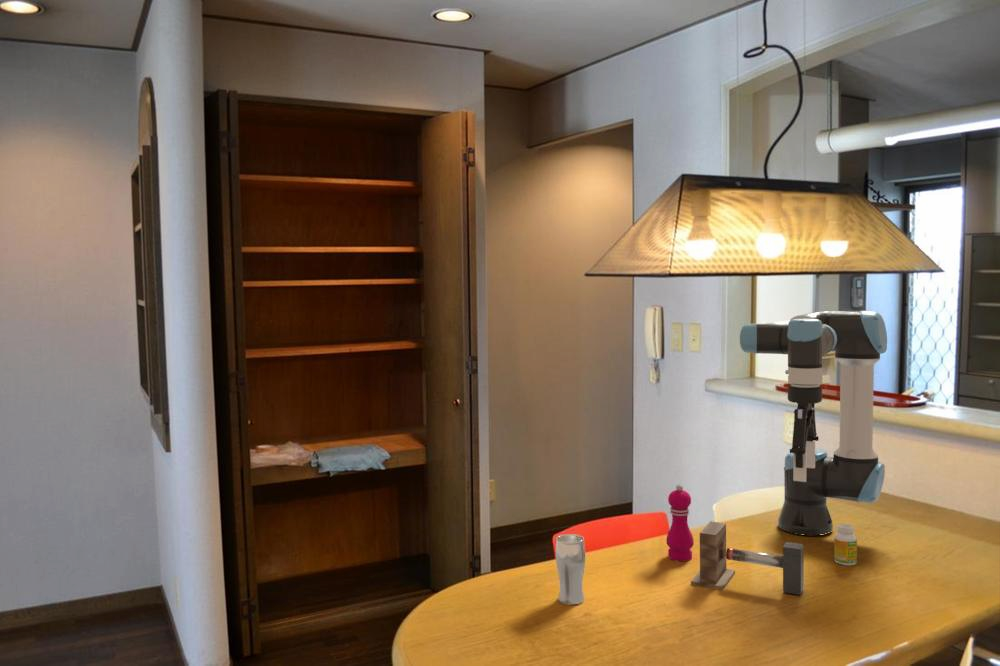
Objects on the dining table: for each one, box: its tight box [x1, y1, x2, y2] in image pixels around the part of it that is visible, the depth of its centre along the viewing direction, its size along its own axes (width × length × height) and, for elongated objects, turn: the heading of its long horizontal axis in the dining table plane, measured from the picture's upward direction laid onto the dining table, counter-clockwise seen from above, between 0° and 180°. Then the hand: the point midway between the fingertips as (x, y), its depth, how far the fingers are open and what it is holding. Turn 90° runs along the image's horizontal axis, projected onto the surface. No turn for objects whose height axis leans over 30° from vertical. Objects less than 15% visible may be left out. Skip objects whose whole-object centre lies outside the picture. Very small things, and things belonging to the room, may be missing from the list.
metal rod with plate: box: [726, 541, 805, 596], centre depth 190 cm, size 18×4×11 cm, turn 60°
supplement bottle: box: [833, 523, 858, 566], centre depth 205 cm, size 5×5×10 cm
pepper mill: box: [665, 484, 694, 562], centre depth 212 cm, size 7×7×20 cm
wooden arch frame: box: [690, 520, 736, 591], centre depth 196 cm, size 8×12×13 cm, turn 150°
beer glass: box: [555, 533, 586, 606], centre depth 186 cm, size 7×7×15 cm
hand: (804, 474), depth 185 cm, fingers open, 13 cm apart
